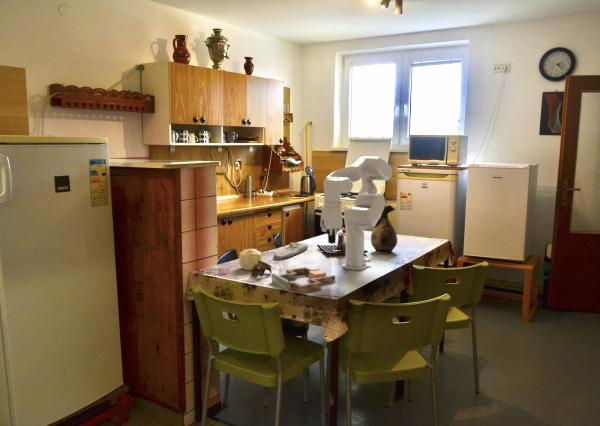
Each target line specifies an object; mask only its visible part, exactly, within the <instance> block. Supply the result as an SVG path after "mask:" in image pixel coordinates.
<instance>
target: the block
mask: <svg viewBox="0 0 600 426" xmlns="http://www.w3.org/2000/svg"><path fill="white" fill-rule="evenodd" d="M326 276H327V272H325V271H322V270H321V269H320V270H316V271H309V276H308V280H309V281H310V279H314V278H320V277H326Z"/></svg>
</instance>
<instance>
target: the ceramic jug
mask: <svg viewBox="0 0 600 426" xmlns="http://www.w3.org/2000/svg"><path fill="white" fill-rule="evenodd" d="M394 211H396V208H394V207H393V206H392V205H391V204H388V205H387V206H386V205H385V207H384V210H383V212H382V214H381V216H380V218H379V220H378V222H377V223H376V225H375V226H373V227H374V228H373V229H372V231H371V236H370V243H371V244H370V245H372V248H373V249H374V250H375V253H377V254H382V255H391V254H392V253H393V251H394V250H395V248H396V247H397V244H398V236H397V235H398V234H397V231H396V229H395V227H394V225H393V223H392V222H391V221H390V219H389V217H388V214H389V213H392V212H394Z"/></svg>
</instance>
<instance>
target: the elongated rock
mask: <svg viewBox="0 0 600 426" xmlns="http://www.w3.org/2000/svg"><path fill="white" fill-rule="evenodd" d="M308 247H309V246H308V244H306V243H298V242H289V245H288V246H287V247H286V248H285V249H282V250H280V251H278V252H276V253H274V255H272V256H273V257H272V258H274V260H275V261H283V260H285V259H286V260H287V259H289V258H293V257H294V256H297V255H298V254H300V253H303V252H306V251H307V249H308Z"/></svg>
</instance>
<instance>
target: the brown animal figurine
mask: <svg viewBox="0 0 600 426" xmlns="http://www.w3.org/2000/svg"><path fill="white" fill-rule="evenodd" d="M258 267H259V268H258ZM265 271H269V276H272V265H270V264H269V263H267V262H264V261H263V260H261V261H258V263H256V264H255V265H254V267H253V270H251V276H252V277H255V278H258V276H259V277H263V276H264V274H265Z"/></svg>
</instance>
